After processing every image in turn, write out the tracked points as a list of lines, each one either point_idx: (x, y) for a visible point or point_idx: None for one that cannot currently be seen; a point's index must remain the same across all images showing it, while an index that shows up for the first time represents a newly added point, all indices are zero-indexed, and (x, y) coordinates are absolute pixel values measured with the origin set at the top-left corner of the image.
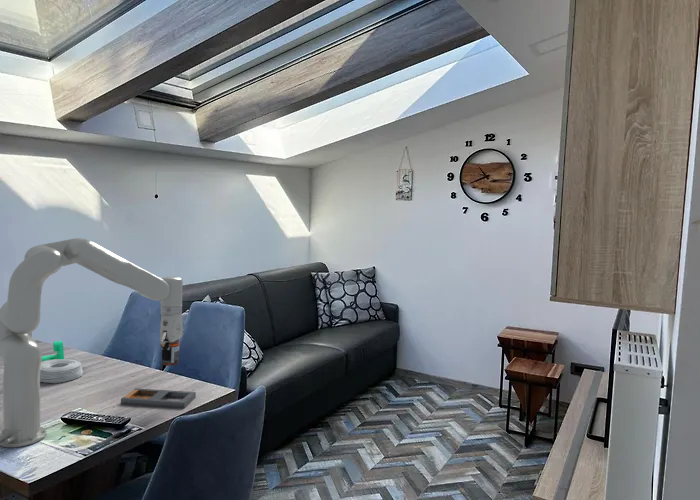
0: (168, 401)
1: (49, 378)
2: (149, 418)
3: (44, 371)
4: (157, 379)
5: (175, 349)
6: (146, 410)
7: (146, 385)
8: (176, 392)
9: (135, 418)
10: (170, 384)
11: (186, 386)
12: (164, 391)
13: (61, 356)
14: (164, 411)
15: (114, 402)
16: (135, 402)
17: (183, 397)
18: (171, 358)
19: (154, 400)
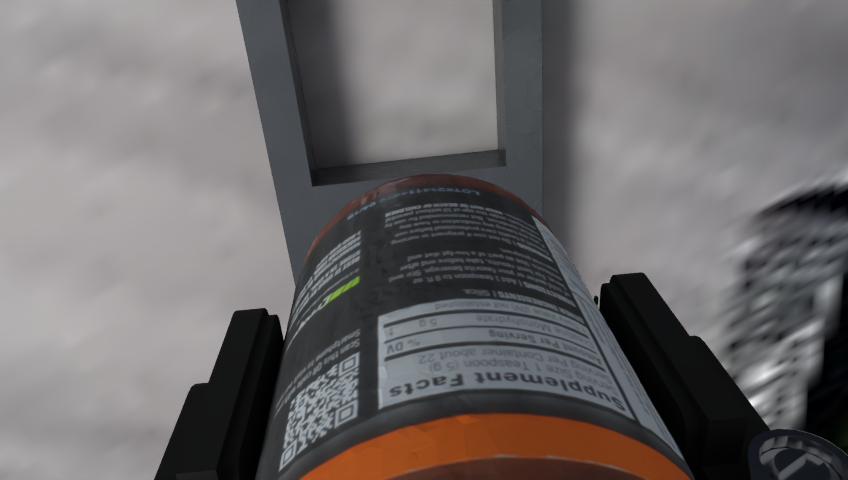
0: (534, 68)
1: None
2: (770, 80)
3: None
4: (9, 436)
5: (579, 354)
6: (619, 185)
7: (161, 435)
8: (299, 115)
9: (769, 178)
10: (50, 301)
11: (17, 153)
12: (316, 226)
13: None
14: (623, 37)
15: None
16: None
17: (290, 33)
18: (584, 285)
19: (533, 195)
